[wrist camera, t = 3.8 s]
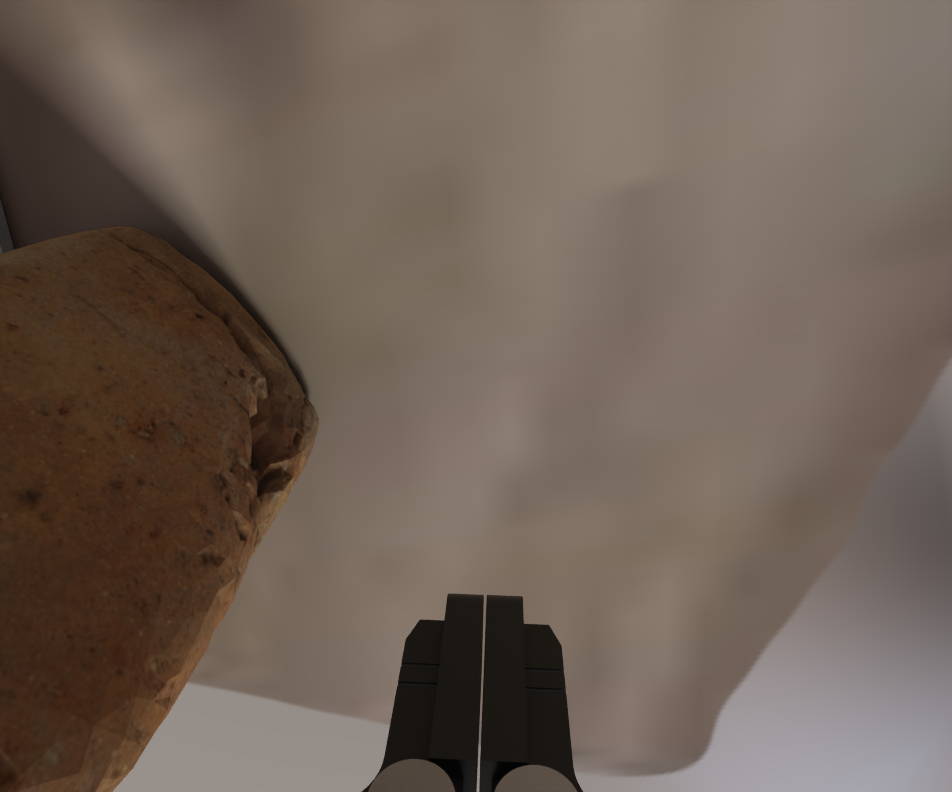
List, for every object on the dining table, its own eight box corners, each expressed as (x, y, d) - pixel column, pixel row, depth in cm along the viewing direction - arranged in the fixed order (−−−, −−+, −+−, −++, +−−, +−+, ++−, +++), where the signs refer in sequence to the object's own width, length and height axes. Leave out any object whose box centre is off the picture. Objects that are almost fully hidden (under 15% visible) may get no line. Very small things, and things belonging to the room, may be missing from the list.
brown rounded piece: (23, 320, 25) (-1254, 943, 7) (143, 186, 23) (-1306, 588, 5) (242, 506, 28) (-234, 1263, 10) (366, 405, 26) (38, 1152, 8)
